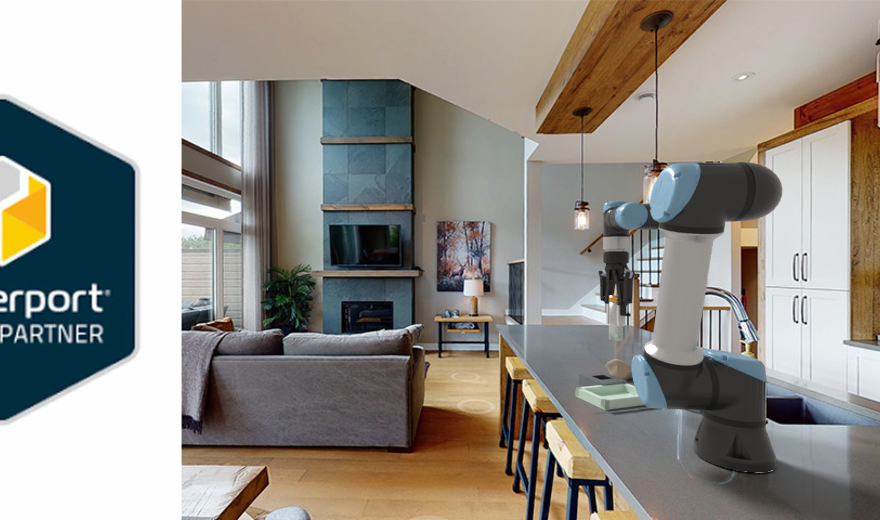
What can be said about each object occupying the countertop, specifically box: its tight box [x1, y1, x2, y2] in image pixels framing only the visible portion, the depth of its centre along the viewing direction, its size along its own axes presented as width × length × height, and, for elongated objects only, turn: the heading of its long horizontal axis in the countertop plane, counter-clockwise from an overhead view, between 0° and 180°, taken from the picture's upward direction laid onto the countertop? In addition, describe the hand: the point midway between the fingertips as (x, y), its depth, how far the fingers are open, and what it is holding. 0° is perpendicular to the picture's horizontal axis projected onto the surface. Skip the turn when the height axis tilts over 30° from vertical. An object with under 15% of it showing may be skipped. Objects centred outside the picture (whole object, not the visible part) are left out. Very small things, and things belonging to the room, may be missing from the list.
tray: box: [575, 382, 646, 411], centre depth 133 cm, size 20×14×3 cm
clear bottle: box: [608, 294, 624, 342], centre depth 134 cm, size 4×4×14 cm
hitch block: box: [578, 371, 628, 387], centre depth 146 cm, size 12×10×4 cm
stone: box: [605, 358, 633, 381], centre depth 158 cm, size 10×7×10 cm
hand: (615, 325), depth 134 cm, fingers closed on clear bottle, 4 cm apart
